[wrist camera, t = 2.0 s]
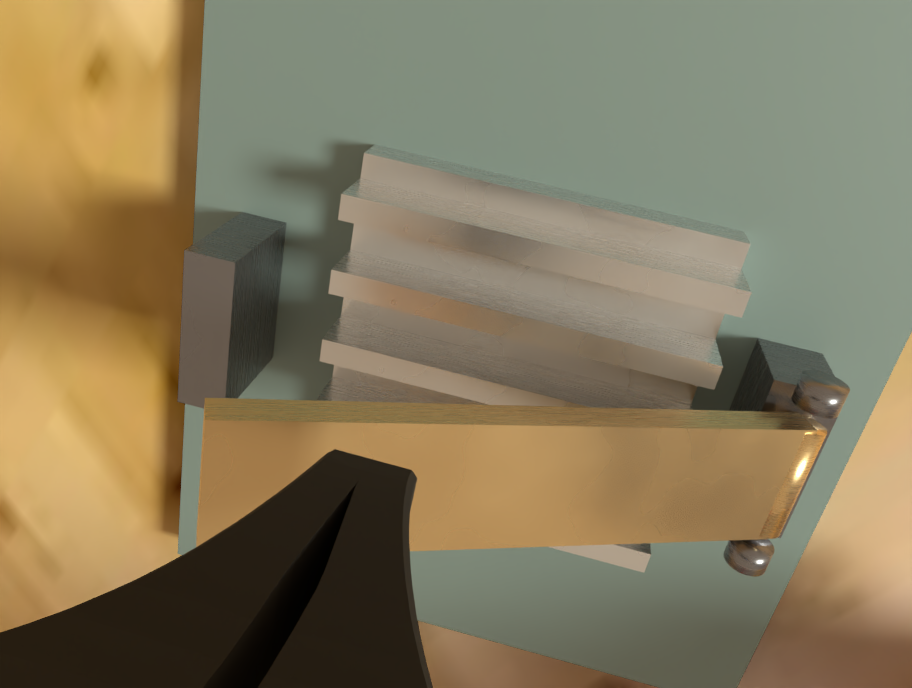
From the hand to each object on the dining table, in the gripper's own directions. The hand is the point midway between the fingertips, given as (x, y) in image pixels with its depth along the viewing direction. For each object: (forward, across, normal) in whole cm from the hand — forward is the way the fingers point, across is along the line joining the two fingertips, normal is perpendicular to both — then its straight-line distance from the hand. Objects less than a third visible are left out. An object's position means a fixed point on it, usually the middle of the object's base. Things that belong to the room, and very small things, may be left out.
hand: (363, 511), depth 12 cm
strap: (+4, -3, +1) cm, 5 cm away
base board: (+10, -2, +1) cm, 11 cm away
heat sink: (+9, -1, +1) cm, 10 cm away
